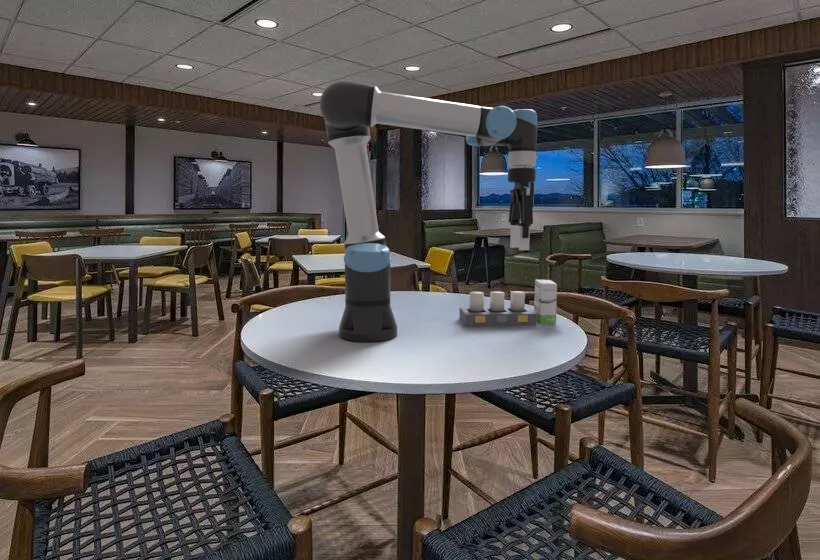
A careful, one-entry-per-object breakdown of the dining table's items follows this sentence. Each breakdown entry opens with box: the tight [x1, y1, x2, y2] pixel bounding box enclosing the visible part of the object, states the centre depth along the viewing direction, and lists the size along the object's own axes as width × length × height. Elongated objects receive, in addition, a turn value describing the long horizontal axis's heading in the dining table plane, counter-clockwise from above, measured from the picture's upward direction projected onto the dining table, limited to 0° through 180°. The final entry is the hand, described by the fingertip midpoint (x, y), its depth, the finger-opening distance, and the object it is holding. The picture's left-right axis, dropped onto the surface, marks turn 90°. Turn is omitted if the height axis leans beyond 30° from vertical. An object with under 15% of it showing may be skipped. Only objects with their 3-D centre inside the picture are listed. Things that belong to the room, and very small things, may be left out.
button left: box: [469, 291, 485, 311], centre depth 149 cm, size 4×4×5 cm
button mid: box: [489, 291, 505, 311], centre depth 150 cm, size 4×4×5 cm
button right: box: [510, 290, 526, 311], centre depth 150 cm, size 4×4×5 cm
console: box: [458, 305, 537, 328], centre depth 150 cm, size 20×11×4 cm, turn 94°
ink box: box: [533, 279, 558, 325], centre depth 152 cm, size 9×5×12 cm, turn 178°
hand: (519, 248), depth 148 cm, fingers open, 9 cm apart
